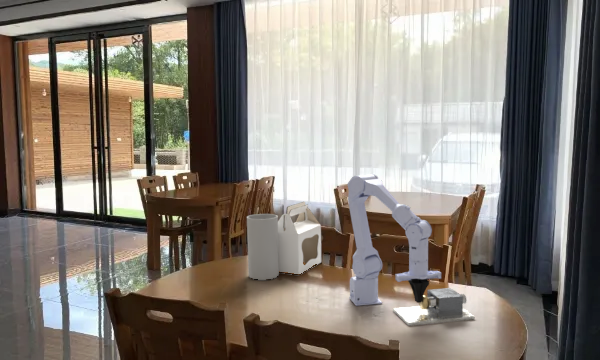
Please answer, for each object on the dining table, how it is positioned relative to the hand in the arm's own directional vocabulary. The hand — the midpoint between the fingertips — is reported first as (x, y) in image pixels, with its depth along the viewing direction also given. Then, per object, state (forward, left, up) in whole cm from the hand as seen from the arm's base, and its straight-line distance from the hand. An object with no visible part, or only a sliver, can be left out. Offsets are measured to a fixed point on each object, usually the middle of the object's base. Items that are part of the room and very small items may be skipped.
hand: (418, 301), depth 148 cm
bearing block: (+5, 0, -5) cm, 7 cm away
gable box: (-27, +64, -5) cm, 70 cm away
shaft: (+9, 0, -3) cm, 9 cm away
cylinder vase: (-43, +54, -5) cm, 69 cm away
